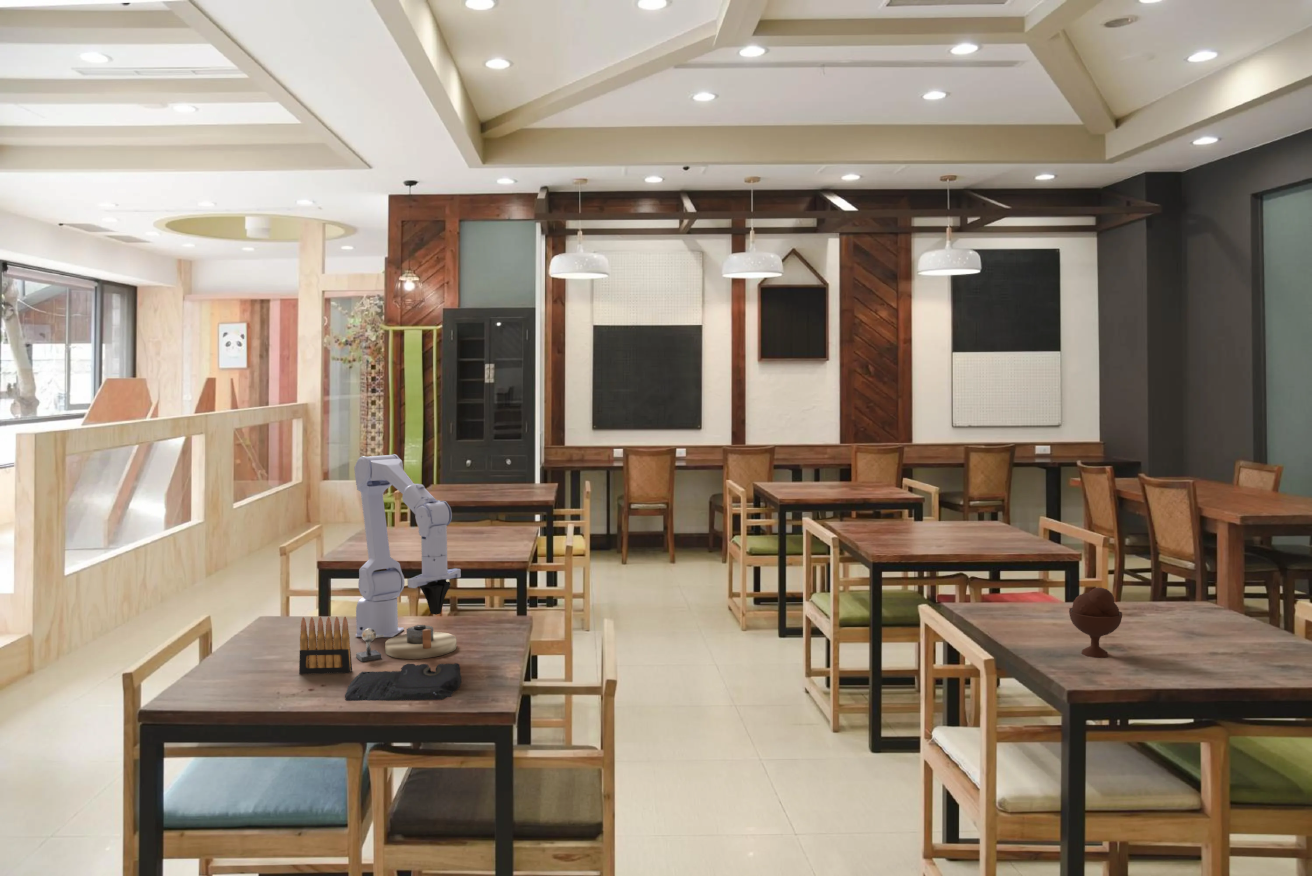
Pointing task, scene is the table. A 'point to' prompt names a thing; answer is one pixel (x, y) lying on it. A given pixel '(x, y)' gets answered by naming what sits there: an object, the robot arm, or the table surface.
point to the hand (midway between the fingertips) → (435, 613)
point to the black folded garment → (406, 683)
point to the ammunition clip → (324, 648)
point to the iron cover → (417, 634)
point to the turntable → (421, 646)
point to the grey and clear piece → (369, 646)
